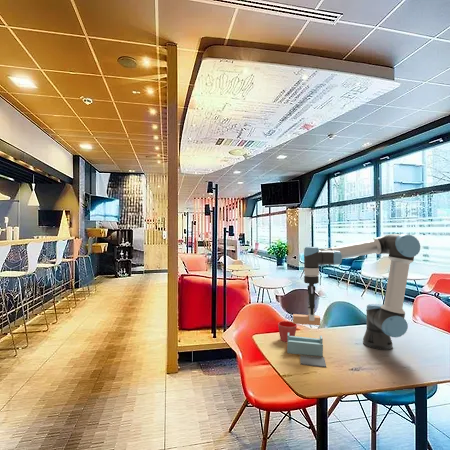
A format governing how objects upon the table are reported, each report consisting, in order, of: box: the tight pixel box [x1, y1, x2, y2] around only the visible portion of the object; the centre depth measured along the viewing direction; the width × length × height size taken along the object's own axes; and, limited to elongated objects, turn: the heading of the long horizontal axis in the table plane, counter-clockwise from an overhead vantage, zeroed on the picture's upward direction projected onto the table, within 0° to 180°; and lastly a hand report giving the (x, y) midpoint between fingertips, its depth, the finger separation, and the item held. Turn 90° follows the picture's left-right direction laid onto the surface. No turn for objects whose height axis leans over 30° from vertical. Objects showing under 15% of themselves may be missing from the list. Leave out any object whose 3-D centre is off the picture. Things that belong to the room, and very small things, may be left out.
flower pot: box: [277, 320, 298, 343], centre depth 176 cm, size 11×11×10 cm
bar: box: [292, 313, 321, 326], centre depth 159 cm, size 14×4×4 cm, turn 77°
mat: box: [299, 354, 327, 368], centre depth 147 cm, size 12×10×1 cm
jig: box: [286, 333, 324, 357], centre depth 159 cm, size 18×9×9 cm, turn 77°
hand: (311, 319), depth 159 cm, fingers closed on bar, 4 cm apart
